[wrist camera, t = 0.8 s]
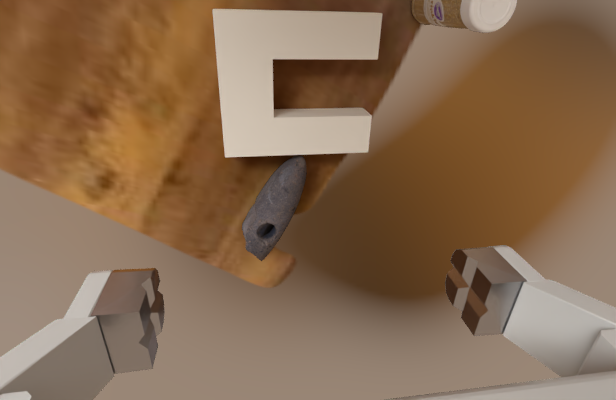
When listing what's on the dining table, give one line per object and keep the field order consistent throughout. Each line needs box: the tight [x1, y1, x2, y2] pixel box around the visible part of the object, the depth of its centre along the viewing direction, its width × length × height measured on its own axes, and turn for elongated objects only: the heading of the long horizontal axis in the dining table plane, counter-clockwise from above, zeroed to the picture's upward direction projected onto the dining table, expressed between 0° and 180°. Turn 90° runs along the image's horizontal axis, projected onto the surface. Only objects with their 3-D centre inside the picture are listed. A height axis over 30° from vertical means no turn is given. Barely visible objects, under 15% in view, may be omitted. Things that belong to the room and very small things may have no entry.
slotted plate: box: [212, 9, 382, 157], centre depth 45 cm, size 16×18×4 cm
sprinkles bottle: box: [412, 0, 517, 33], centre depth 39 cm, size 5×5×14 cm
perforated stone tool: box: [242, 155, 307, 261], centre depth 50 cm, size 15×5×7 cm, turn 148°
